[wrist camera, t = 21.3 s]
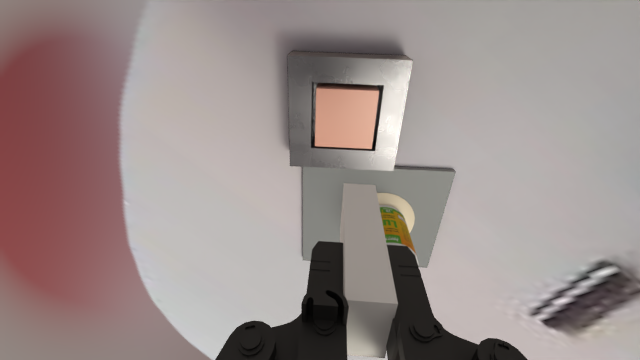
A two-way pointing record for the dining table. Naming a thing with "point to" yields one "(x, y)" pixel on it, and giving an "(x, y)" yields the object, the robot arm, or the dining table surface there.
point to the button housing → (353, 70)
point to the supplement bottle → (396, 228)
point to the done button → (345, 115)
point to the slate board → (392, 189)
